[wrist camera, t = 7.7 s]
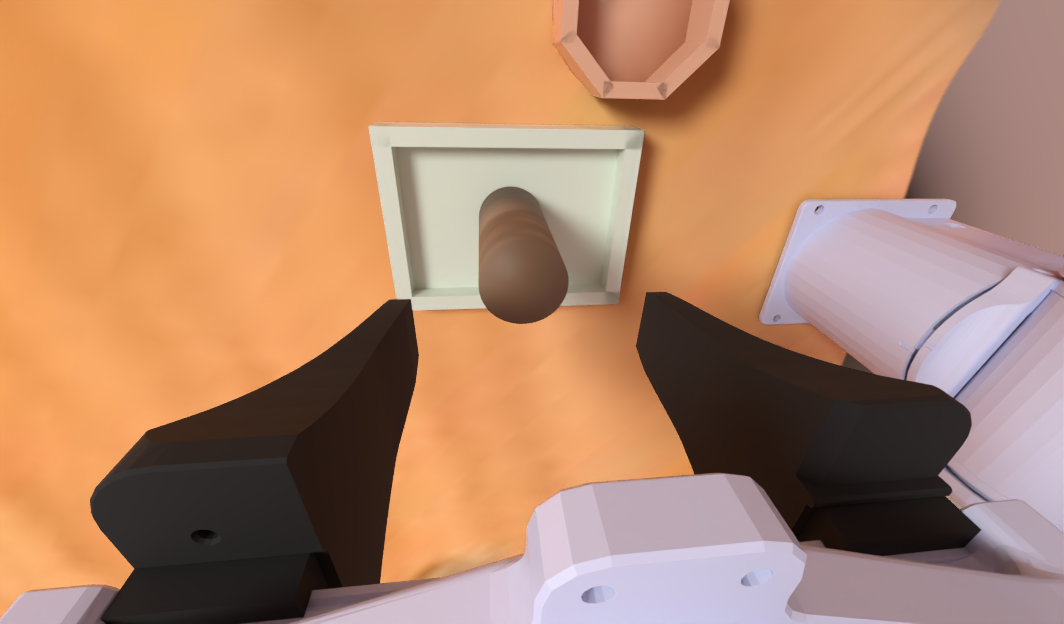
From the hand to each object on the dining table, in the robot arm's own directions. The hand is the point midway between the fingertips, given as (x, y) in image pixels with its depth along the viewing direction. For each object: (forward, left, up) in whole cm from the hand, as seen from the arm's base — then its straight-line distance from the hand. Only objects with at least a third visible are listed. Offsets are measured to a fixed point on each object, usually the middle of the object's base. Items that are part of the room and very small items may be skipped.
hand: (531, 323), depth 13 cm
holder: (-5, -9, -10) cm, 15 cm away
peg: (0, 0, -10) cm, 10 cm away
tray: (0, 0, -10) cm, 10 cm away
